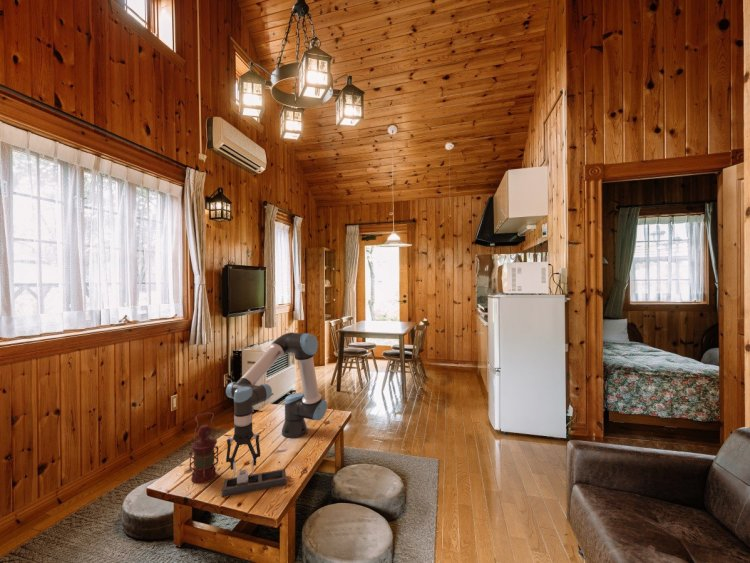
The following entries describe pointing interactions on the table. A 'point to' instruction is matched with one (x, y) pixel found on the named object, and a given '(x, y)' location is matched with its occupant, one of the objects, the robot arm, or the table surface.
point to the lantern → (203, 455)
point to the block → (242, 477)
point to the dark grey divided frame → (254, 486)
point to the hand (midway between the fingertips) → (243, 474)
